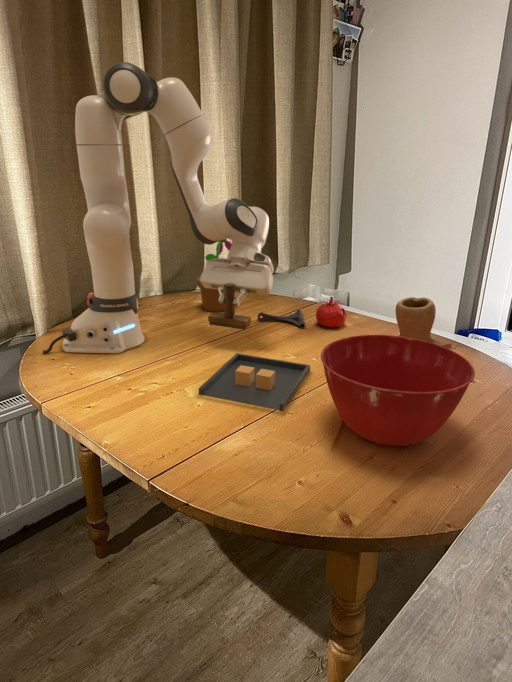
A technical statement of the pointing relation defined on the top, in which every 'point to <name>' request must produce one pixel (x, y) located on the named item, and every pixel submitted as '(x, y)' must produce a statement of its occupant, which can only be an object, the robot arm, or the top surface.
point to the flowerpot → (212, 295)
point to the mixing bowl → (394, 386)
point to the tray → (276, 398)
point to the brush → (229, 312)
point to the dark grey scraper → (284, 318)
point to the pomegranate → (331, 314)
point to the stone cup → (417, 319)
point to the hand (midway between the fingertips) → (228, 303)
